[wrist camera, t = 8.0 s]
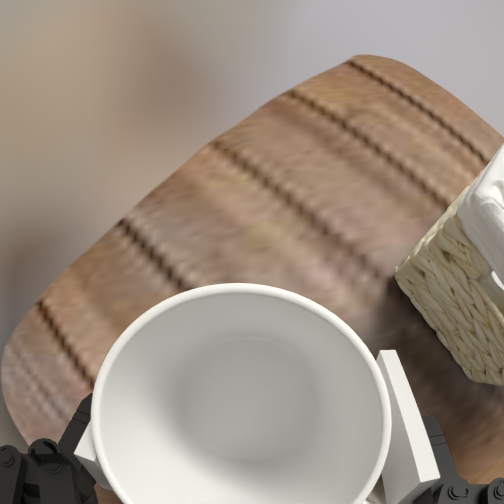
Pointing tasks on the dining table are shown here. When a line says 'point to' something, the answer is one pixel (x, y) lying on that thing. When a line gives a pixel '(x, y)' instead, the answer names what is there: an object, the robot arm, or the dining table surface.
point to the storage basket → (465, 276)
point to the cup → (240, 403)
